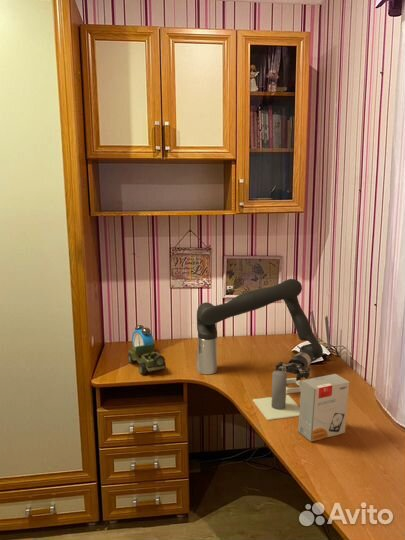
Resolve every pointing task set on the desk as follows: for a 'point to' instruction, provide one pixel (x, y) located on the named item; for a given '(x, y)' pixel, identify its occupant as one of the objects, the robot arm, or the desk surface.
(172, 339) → the desk surface
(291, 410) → the pale sage mat
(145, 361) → the toy jeep
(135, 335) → the alarm clock
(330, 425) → the hard drive box
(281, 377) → the grey cylinder
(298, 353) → the robot arm
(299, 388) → the off-white collar
